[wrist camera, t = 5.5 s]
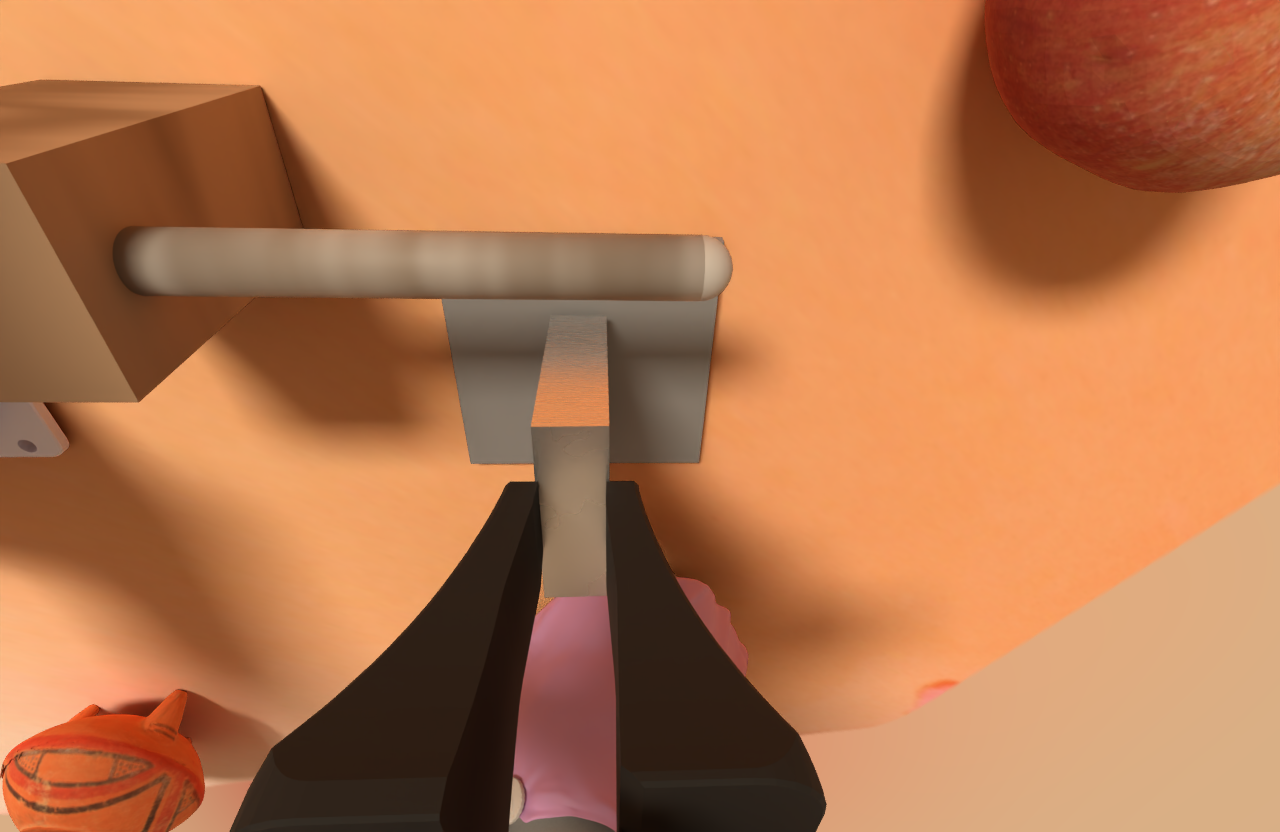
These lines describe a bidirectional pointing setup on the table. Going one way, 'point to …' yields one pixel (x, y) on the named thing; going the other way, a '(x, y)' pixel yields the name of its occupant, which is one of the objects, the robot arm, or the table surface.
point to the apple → (1144, 86)
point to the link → (573, 455)
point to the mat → (637, 374)
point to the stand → (230, 239)
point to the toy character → (581, 713)
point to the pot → (106, 774)
